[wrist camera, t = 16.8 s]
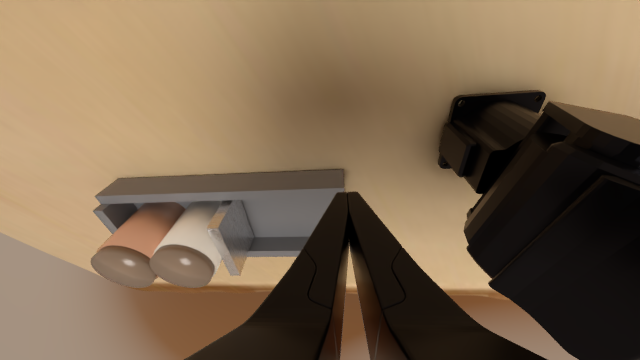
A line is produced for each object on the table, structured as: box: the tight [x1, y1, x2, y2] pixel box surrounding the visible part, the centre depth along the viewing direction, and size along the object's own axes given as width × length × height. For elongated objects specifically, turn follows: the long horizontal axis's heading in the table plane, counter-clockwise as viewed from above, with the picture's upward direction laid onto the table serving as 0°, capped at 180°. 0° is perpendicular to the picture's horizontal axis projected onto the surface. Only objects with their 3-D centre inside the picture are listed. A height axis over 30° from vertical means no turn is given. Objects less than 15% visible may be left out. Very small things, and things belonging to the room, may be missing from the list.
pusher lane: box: [93, 169, 344, 257], centre depth 25 cm, size 24×10×4 cm, turn 95°
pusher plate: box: [206, 200, 254, 275], centre depth 24 cm, size 1×7×5 cm, turn 4°
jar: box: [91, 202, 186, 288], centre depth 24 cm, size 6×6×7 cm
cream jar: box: [149, 200, 223, 288], centre depth 23 cm, size 6×6×7 cm
